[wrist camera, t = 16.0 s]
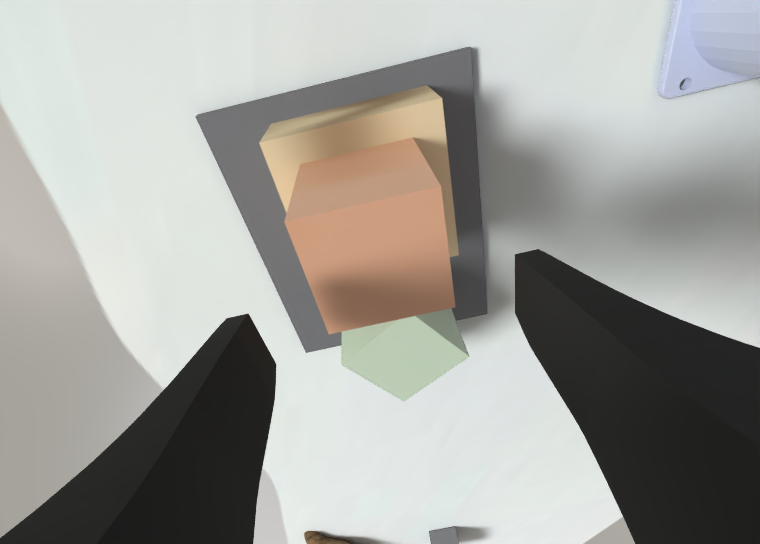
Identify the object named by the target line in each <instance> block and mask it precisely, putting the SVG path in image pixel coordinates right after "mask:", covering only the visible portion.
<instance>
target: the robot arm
mask: <svg viewBox="0 0 760 544" xmlns="http://www.w3.org/2000/svg"><path fill="white" fill-rule="evenodd" d="M758 77H760V0H675V2H674V7H673V13H672V18H671V23H670V28H669V33H668V38H667V43H666V48H665V54H664V59H663V64H662V69H661V74H660V79H659V84H658V94H659V96H661V97H664V98H674V97H678V96H683V95H687V94H691V93H695V92H699V91H704V90H708V89H712V88H716V87H720V86H725V85H729V84H733V83H737V82H741V81H746V80H750V79H754V78H758ZM683 79H685V82H684V84H683V86H682V87H681V88H680V87H679V85H680V83H681V82H682V80H683ZM515 314H516V316H517V318H518V320H519V323H520V325H521V327H522V330H523V332H524V334H525V336H526V338H527V341H528V343H529V345H530V347H531V348H532V350H533V352H534V353H535V355H536V357H537V358H538V360H539V362H540V363H541V365H542V366H543V368H544V370H545V371H546V373H547V375H548V376H549V378H550V379H551V381H552V383H553V384H554V386H555V388H556V389H557V391H558V392H559V394H560V396H561V397H562V399H563V400H564V402H565V404H566V405H567V407H568V408H569V410H570V412H571V413H572V415H573V417H574V418H575V420H576V422H577V423H578V425H579V427H580V429H581V431H582V432H583V434H584V436H585V438H586V440H587V442H588V444H589V446H590V448H591V450H592V452H593V454H594V456H595V458H596V460H597V462H598V464H599V466H600V468H601V470H602V472H603V474H604V477H605V479H606V481H607V483H608V485H609V487H610V489H611V491H612V494H613V496H614V498H615V500H616V502H617V504H618V506H619V509H620V511H621V513H622V515H623V517H624V519H625V521H626V524H627V526H628V528H629V530H630V533H631V535H632V537H633V540H634V542H635V544H760V348H758V347H755V346H752V345H749V344H745V343H742V342H740V341H737V340H734V339H731V338H728V337H725V336H722V335H720V334H717V333H714V332H712V331H709V330H706V329H704V328H701V327H699V326H696V325H693V324H691V323H688V322H686V321H683V320H680V319H678V318H676V317H673V316H671V315H668V314H666V313H664V312H661V311H659V310H657V309H655V308H653V307H650V306H648V305H646V304H644V303H642V302H639V301H637V300H635V299H633V298H631V297H629V296H627V295H625V294H623V293H620V292H618V291H616V290H614V289H612V288H610V287H608V286H606V285H605V284H603V283H601V282H599V281H597V280H595V279H593V278H591V277H589V276H587V275H586V274H584V273H582V272H580V271H578V270H576V269H575V268H573V267H571V266H569V265H567V264H565V263H564V262H562V261H560V260H558V259H556V258H554V257H553V256H551V255H549V254H547V253H545V252H543V251H541V250H539V249H537V250H533V251H528V252H524V253H519V254H515ZM275 385H276V363H275V361H274V359H273V358H272V356H271V354H270V352H269V350H268V348H267V347H266V345H265V343H264V341H263V339H262V338H261V336H260V334H259V332H258V330H257V328H256V327H255V325H254V323H253V321H252V319H251V317H250V316H249V314H245V315H240V316H236V317H231V318H227V319H226V320H225V321H224V322H223V323H222V324H221V325H220V326H219V327H218V328H217V329H216V331H215V332H214V333H213V334H212V335H211V336H210V337H209V339H208V340H207V341H206V342H205V343H204V345H203V346H202V347H201V348H200V349H199V350H198V352H197V353H196V354H195V355H194V356H193V357H192V359H191V360H190V361H189V362H188V363H187V364H186V366H185V367H184V368H183V369H182V370H181V371H180V372H179V374H178V375H177V376H176V377H175V378H174V379H173V381H172V382H171V383H170V384H169V385H168V386H167V387H166V388H165V389H164V390H163V391H162V393H161V394H160V395H159V396H158V397H157V398H156V399H155V400H154V401H153V402H152V403H151V404H150V406H149V407H148V408H147V409H146V410H145V411H144V412H143V413H142V414H141V415H140V416H139V417H138V418H137V419H136V420H135V421H134V423H132V424H131V426H129V427H128V429H126V430H125V432H123V433H122V434H121V435H120V436H119V437H118V438H117V439H116V440H115V441H114V442H113V443H112V444H111V445H110V446H109V447H108V448H107V449H106V450H105V451H103V452H102V453H101V454H100V455H99V456H98V457H97V458H96V459H95V460H94V461H93V462H92V463H91V464H89V465H88V466H87V467H86V468H85V469H84V470H82V471H81V472H80V473H79V474H78V475H77V476H76V477H74V478H73V479H72V480H71V481H70V482H68V483H67V484H66V485H65V486H64V487H63V488H61V489H60V490H59V491H58V492H57V493H56V494H54V495H53V496H52V497H51V498H50V499H49V500H47V501H46V502H45V503H44V504H43V505H41V506H40V507H39V508H38V509H36V510H35V511H34V512H33V513H32V514H30V515H29V516H28V517H26V518H25V519H24V520H23V521H21V522H20V523H19V524H18V525H16V526H15V527H14V528H13V529H11V530H10V531H9V532H8V533H6V534H5V535H4V536H2V537H1V538H0V544H253V538H254V527H255V515H256V503H257V496H258V489H259V482H260V476H261V471H262V466H263V460H264V455H265V450H266V444H267V439H268V434H269V428H270V423H271V417H272V412H273V406H274V400H275Z"/></svg>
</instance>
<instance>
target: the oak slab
mask: <svg viewBox="0 0 760 544" xmlns="http://www.w3.org/2000/svg"><path fill="white" fill-rule="evenodd" d="M412 137H413V139H414V140H415V142H416V144H417V146H418V147H419V149H420V151H421V152H422V154H423V156H424V158H425V159H426V161H427V163H428V165H429V166H430V168H431V170H432V171H433V173H434V175H435V177H436V178H437V180H438V182H439V183H440V185H441V190H442V199H443V207H444V215H445V223H446V232H447V240H448V248H449V257H453V256H457V255H459V251H458V241H457V232H456V223H455V213H454V204H453V195H452V185H451V176H450V167H449V157H448V148H447V139H446V129H445V120H444V111H443V101H442V98H441V97H440V96H439V95H438V94H437V93H435V92H434V91H433V90H432V89H431V88H429V87H428V86H427V85H426V86H422V87H418V88H414V89H410V90H406V91H402V92H398V93H394V94H390V95H386V96H381V97H377V98H373V99H369V100H365V101H361V102H357V103H353V104H349V105H345V106H341V107H337V108H333V109H329V110H325V111H321V112H317V113H313V114H309V115H304V116H300V117H296V118H292V119H288V120H284V121H280V122H276V123H272V124H271V125H270V126H269V128H268V129H267V131H266V133H265V134H264V136H263V137H262V139H261V141H260V142H259V144H260V146H261V149H262V152H263V154H264V157H265V159H266V162H267V164H268V167H269V170H270V172H271V175H272V177H273V180H274V182H275V185H276V187H277V190H278V193H279V195H280V198H281V200H282V203H283V205H284V208H285V210H286V213H287V210H288V206H289V203H290V199H291V195H292V192H293V188H294V184H295V181H296V177H297V173H298V170H299V166H300V164H302V163H306V162H311V161H315V160H319V159H323V158H328V157H332V156H336V155H340V154H345V153H349V152H353V151H357V150H362V149H366V148H370V147H374V146H378V145H383V144H387V143H391V142H395V141H400V140H404V139H408V138H412Z"/></svg>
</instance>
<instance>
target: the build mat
mask: <svg viewBox="0 0 760 544" xmlns="http://www.w3.org/2000/svg"><path fill="white" fill-rule="evenodd" d="M426 85H427V86H428V87H429V88H431V89H432V90H433V91H434V92H435V93H437V94H438V95H439V96H440V97H441V98H442V101H443V111H444V120H445V129H446V139H447V148H448V157H449V167H450V176H451V185H452V195H453V204H454V213H455V223H456V232H457V241H458V251H459V255H457V256H453V257H450V265H451V273H452V282H453V290H454V298H455V308H451V309H452V312H453V314H454V317H455V320H461V319H465V318H470V317H475V316H479V315H484V314H487V299H486V283H485V267H484V251H483V235H482V219H481V203H480V187H479V171H478V155H477V138H476V122H475V106H474V90H473V74H472V58H471V48H470V47H466V48H462V49H458V50H454V51H450V52H446V53H442V54H438V55H434V56H430V57H426V58H422V59H418V60H414V61H410V62H406V63H402V64H398V65H394V66H390V67H386V68H382V69H378V70H374V71H370V72H366V73H362V74H358V75H354V76H350V77H346V78H342V79H338V80H334V81H330V82H326V83H322V84H318V85H314V86H310V87H306V88H302V89H298V90H294V91H290V92H286V93H282V94H278V95H274V96H270V97H266V98H262V99H258V100H254V101H250V102H246V103H242V104H238V105H234V106H230V107H226V108H222V109H218V110H214V111H210V112H206V113H202V114H198V115H197V116H196V119H197V121H198V123H199V125H200V127H201V129H202V132H203V134H204V136H205V138H206V140H207V142H208V144H209V146H210V149H211V151H212V153H213V155H214V157H215V159H216V161H217V164H218V166H219V168H220V170H221V172H222V174H223V176H224V178H225V181H226V183H227V185H228V187H229V189H230V191H231V193H232V196H233V198H234V200H235V202H236V204H237V206H238V208H239V211H240V213H241V215H242V217H243V219H244V221H245V223H246V225H247V228H248V230H249V232H250V234H251V236H252V238H253V240H254V243H255V245H256V247H257V249H258V251H259V253H260V255H261V257H262V260H263V262H264V264H265V266H266V268H267V270H268V272H269V275H270V277H271V279H272V281H273V283H274V285H275V287H276V289H277V292H278V294H279V296H280V298H281V300H282V302H283V304H284V307H285V309H286V311H287V313H288V315H289V317H290V319H291V322H292V324H293V326H294V328H295V330H296V332H297V334H298V336H299V339H300V341H301V343H302V345H303V347H304V349H305V351H306V353H307V352H312V351H317V350H321V349H326V348H331V347H335V346H340V345H342V332H338V333H333V334H328V331H327V329H326V326H325V323H324V321H323V318H322V316H321V313H320V311H319V308H318V306H317V303H316V301H315V298H314V296H313V293H312V291H311V288H310V286H309V283H308V281H307V278H306V276H305V273H304V270H303V268H302V265H301V263H300V260H299V258H298V255H297V253H296V250H295V248H294V245H293V243H292V240H291V238H290V235H289V233H288V230H287V228H286V225H285V223H284V221H285V218H286V214H287V213H286V210H285V208H284V205H283V203H282V200H281V198H280V195H279V193H278V190H277V187H276V185H275V182H274V180H273V177H272V175H271V172H270V170H269V167H268V164H267V162H266V159H265V157H264V154H263V152H262V149H261V146H260V144H259V142H260V141H261V139H262V137H263V136H264V134H265V133H266V131H267V129H268V128H269V126H270V125H271V124H272V123H276V122H280V121H284V120H288V119H292V118H296V117H300V116H304V115H309V114H313V113H317V112H321V111H325V110H329V109H333V108H337V107H341V106H345V105H349V104H353V103H357V102H361V101H365V100H369V99H373V98H377V97H381V96H386V95H390V94H394V93H398V92H402V91H406V90H410V89H414V88H418V87H422V86H426Z"/></svg>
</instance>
